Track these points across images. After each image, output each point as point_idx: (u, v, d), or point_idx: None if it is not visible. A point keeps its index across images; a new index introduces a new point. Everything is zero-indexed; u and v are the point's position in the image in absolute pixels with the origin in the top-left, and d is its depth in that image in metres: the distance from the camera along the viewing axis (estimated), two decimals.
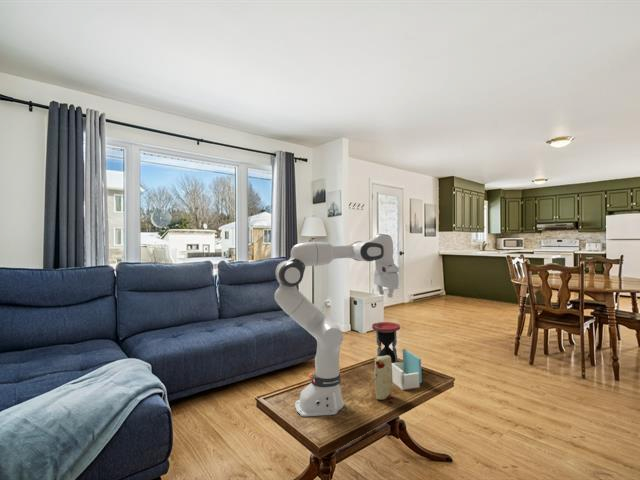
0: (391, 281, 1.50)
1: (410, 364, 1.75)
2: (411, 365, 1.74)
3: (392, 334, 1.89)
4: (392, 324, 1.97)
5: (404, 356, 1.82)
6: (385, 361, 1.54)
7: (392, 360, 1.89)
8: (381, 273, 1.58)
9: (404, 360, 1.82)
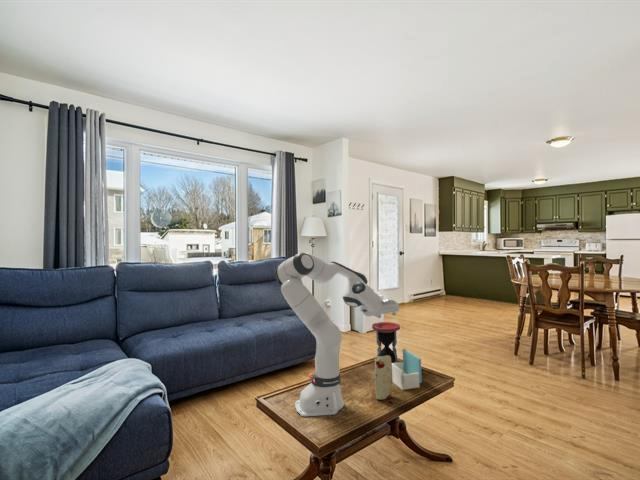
0: None
1: (410, 364, 1.75)
2: (411, 365, 1.74)
3: (392, 334, 1.89)
4: (392, 324, 1.97)
5: (404, 356, 1.82)
6: (385, 361, 1.54)
7: (392, 360, 1.89)
8: None
9: (404, 360, 1.82)
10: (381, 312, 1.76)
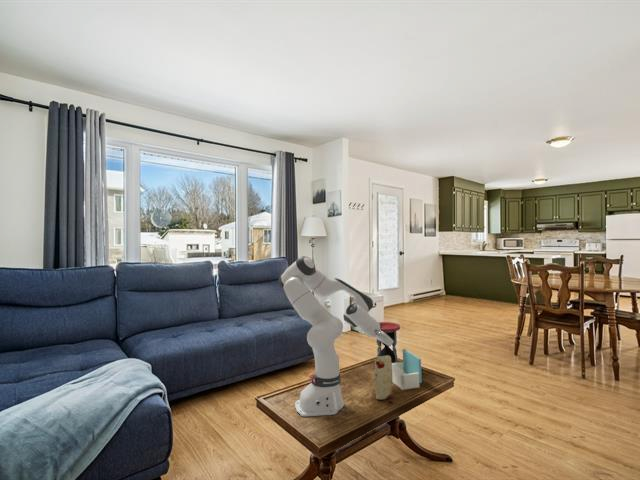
0: None
1: (410, 364, 1.75)
2: (411, 365, 1.74)
3: (392, 334, 1.89)
4: (392, 324, 1.97)
5: (404, 356, 1.82)
6: (385, 361, 1.54)
7: (392, 360, 1.89)
8: None
9: (404, 360, 1.82)
10: (378, 339, 1.72)
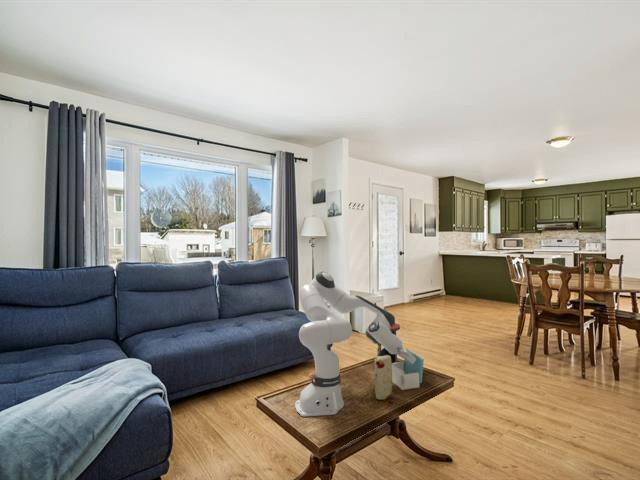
0: None
1: (411, 364, 1.76)
2: (413, 365, 1.75)
3: None
4: None
5: None
6: (385, 361, 1.54)
7: (392, 360, 1.89)
8: None
9: (405, 360, 1.82)
10: (400, 356, 1.74)
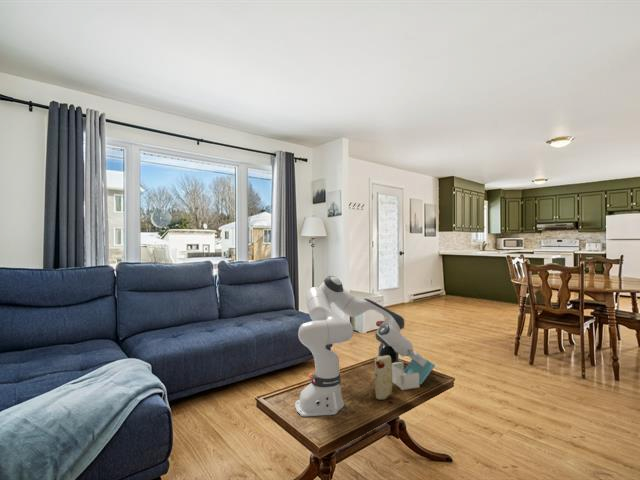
0: None
1: (418, 366, 1.77)
2: (419, 367, 1.75)
3: None
4: None
5: None
6: (385, 361, 1.54)
7: (393, 358, 1.89)
8: None
9: (411, 362, 1.83)
10: (410, 357, 1.75)
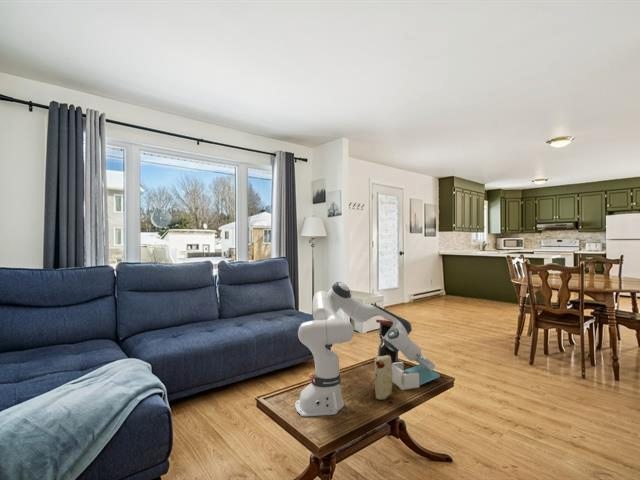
0: None
1: (421, 372, 1.77)
2: (422, 372, 1.76)
3: None
4: None
5: (418, 366, 1.84)
6: (385, 361, 1.54)
7: (393, 355, 1.90)
8: None
9: (414, 367, 1.83)
10: (418, 362, 1.76)
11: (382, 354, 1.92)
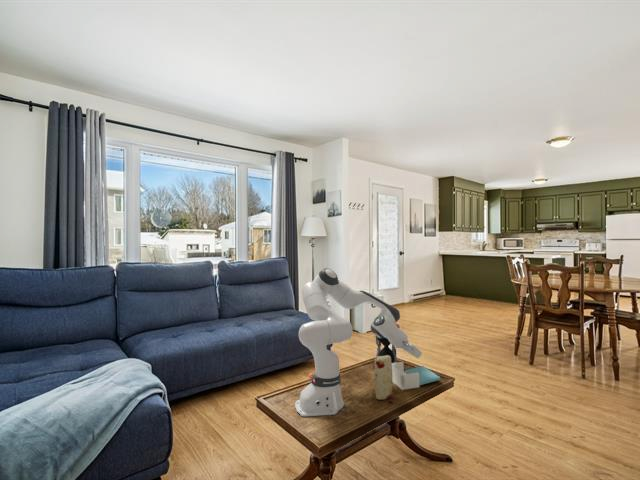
0: None
1: (421, 373, 1.77)
2: (422, 374, 1.76)
3: None
4: None
5: (418, 368, 1.84)
6: (385, 361, 1.54)
7: (391, 360, 1.89)
8: None
9: (415, 369, 1.83)
10: (406, 350, 1.73)
11: None
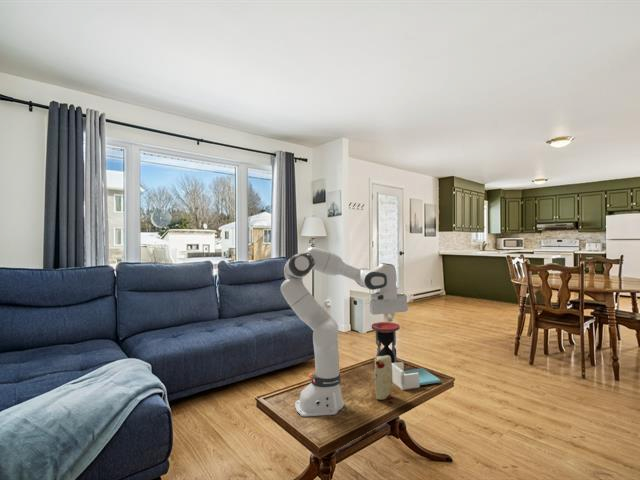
0: None
1: (421, 374, 1.77)
2: (422, 375, 1.76)
3: (391, 334, 1.89)
4: (392, 324, 1.97)
5: (418, 370, 1.84)
6: (385, 361, 1.54)
7: (391, 360, 1.89)
8: None
9: (415, 370, 1.83)
10: (390, 308, 1.68)
11: None
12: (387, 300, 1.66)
